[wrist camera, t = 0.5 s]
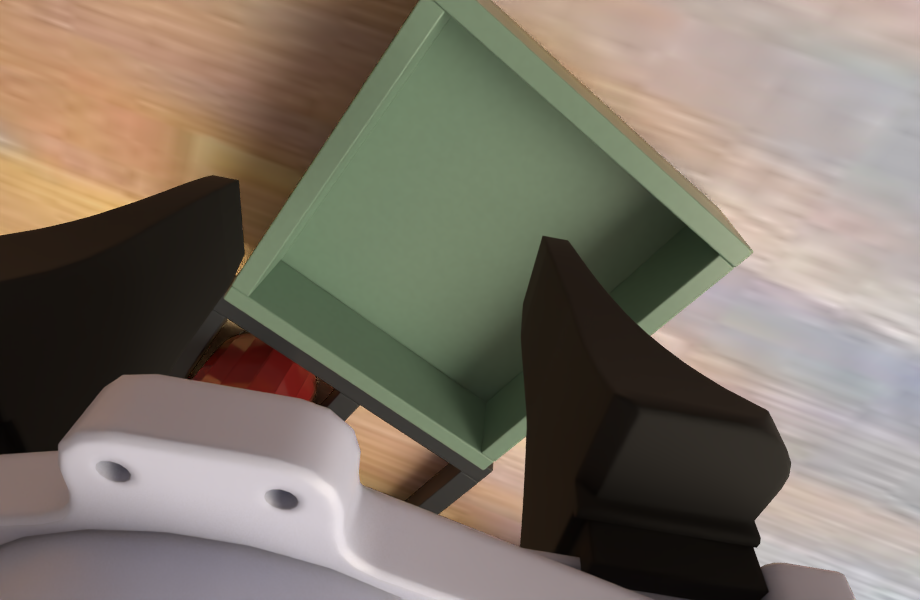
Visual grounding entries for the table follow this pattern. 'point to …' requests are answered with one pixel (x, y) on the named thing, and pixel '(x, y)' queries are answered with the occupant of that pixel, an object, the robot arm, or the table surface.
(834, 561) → the table surface
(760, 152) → the table surface
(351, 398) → the frame
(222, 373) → the cup
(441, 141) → the basin
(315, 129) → the table surface
